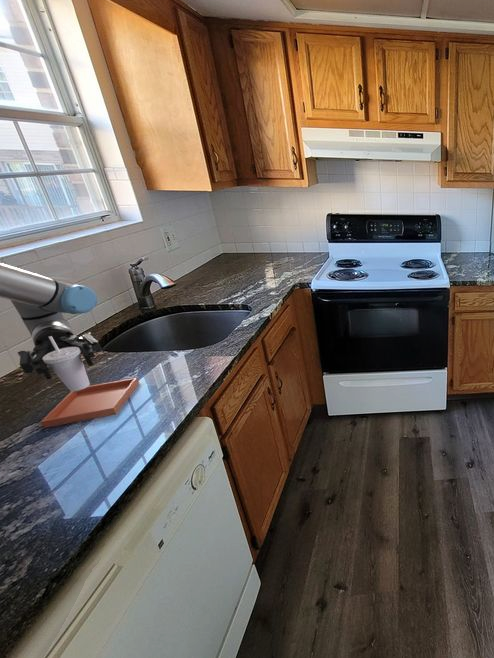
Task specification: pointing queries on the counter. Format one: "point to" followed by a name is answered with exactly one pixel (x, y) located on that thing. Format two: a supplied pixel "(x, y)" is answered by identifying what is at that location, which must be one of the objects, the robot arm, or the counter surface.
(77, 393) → the tray
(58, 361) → the smoothie
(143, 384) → the counter surface
